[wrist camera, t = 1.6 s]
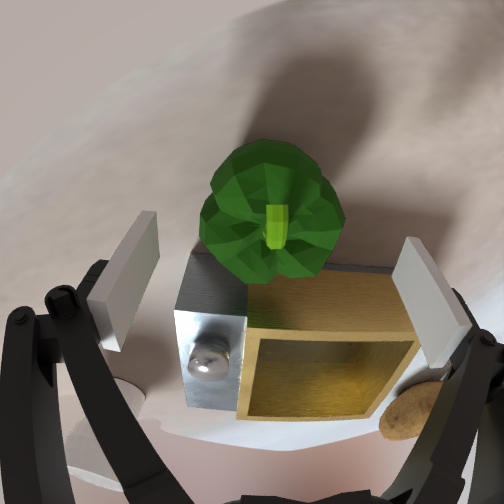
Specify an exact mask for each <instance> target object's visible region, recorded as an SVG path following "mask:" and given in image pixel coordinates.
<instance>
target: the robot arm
mask: <svg viewBox="0 0 504 504" xmlns="http://www.w3.org/2000/svg"><path fill="white" fill-rule="evenodd" d="M159 258H160V253H159V242H158V229H157V215H156V212H154V211H142V212H141V213H140V215H139V216H138V217H137V219H136V220H135V222H134V223H133V225H132V226H131V228H130V229H129V231H128V232H127V234H126V235H125V237H124V238H123V240H122V242H121V243H120V245H119V246H118V248H117V249H116V251H115V252H114V254H113V256H112V257H111V259H110V260H101V259H100V260H99V261H97V262H96V263H95V264H93V265H92V266H91V267H90V269H89V270H88V272H87V273H86V275H85V277H84V278H83V281H81V283H80V284H79V286H78V288H77V289H76V290H75V289H74V287H72V286H69V285H61V286H57V287H55V288H53V289H51V290H50V291H49V292H48V293H47V295H46V297H45V305H46V307H47V310H48V312H49V314H44V315H36V314H35V312H34V310H33V309H32V308H31V307H28V306H21V307H19V308H16V309H15V310H13V311H12V312H11V313H10V315H9V316H8V319H7V323H6V330H5V336H4V344H3V352H2V362H1V372H0V467H1V477H2V486H3V494H4V500H5V504H75V500H74V496H73V492H72V487H71V483H70V478H69V473H68V468H67V462H66V456H65V450H64V444H63V437H62V430H61V422H60V413H59V402H58V389H57V370H56V363H65V364H66V367H67V370H68V372H69V375H70V378H71V381H72V383H73V386H74V388H75V391H76V394H77V396H78V398H79V401H80V403H81V406H82V408H83V410H84V413H85V415H86V417H87V419H88V422H89V424H90V426H91V428H92V430H93V433H94V435H95V437H96V439H97V441H98V443H99V445H100V447H101V449H102V451H103V453H104V455H105V457H106V458H107V460H108V462H109V464H110V466H111V468H112V470H113V471H114V473H115V475H116V477H117V478H118V480H119V482H120V484H121V486H122V488H123V492H124V494H125V496H126V498H127V500H128V502H129V503H130V504H194V502H193V501H192V500H191V499H190V497H189V496H188V495H187V493H186V492H185V491H184V489H183V488H182V487H181V485H180V484H179V482H178V481H177V480H176V478H175V477H174V476H173V474H172V473H171V472H170V470H169V469H168V468H167V467H166V465H165V464H164V463H163V461H162V460H161V458H160V457H159V455H158V454H157V452H156V451H155V449H154V448H153V446H152V444H151V443H150V441H149V440H148V438H147V436H146V435H145V433H144V432H143V430H142V428H141V427H140V425H139V423H138V422H137V420H136V418H135V416H134V415H133V413H132V411H131V409H130V408H129V406H128V404H127V402H126V400H125V399H124V397H123V395H122V393H121V391H120V389H119V387H118V386H117V384H116V382H115V380H114V378H113V376H112V374H111V372H110V370H109V368H108V366H107V364H106V362H105V359H104V357H103V355H102V353H101V351H100V349H99V347H98V344H99V342H100V340H101V343H102V346H103V348H104V349H107V350H112V351H118V352H121V350H122V347H123V344H124V342H125V339H126V336H127V334H128V331H129V329H130V326H131V324H132V321H133V319H134V316H135V314H136V311H137V309H138V306H139V304H140V302H141V299H142V297H143V294H144V292H145V290H146V287H147V285H148V283H149V280H150V278H151V276H152V273H153V271H154V269H155V267H156V264H157V262H158V260H159ZM391 277H392V279H393V281H394V283H395V285H396V288H397V290H398V292H399V294H400V296H401V299H402V301H403V303H404V305H405V308H406V310H407V312H408V315H409V317H410V319H411V322H412V324H413V327H414V329H415V331H416V334H417V336H418V339H419V341H420V344H421V346H422V349H423V352H424V354H425V357H426V359H427V362H428V365H429V368H430V369H432V368H443V367H444V365H445V364H446V363H447V361H448V360H449V359H450V361H451V364H452V365H451V367H450V368H449V369H448V371H447V372H446V373H445V374H444V376H443V377H442V378H441V381H442V380H443V379H444V378H445V379H444V382H443V384H442V387H441V389H440V392H439V394H438V396H437V399H436V401H435V403H434V406H433V408H432V410H431V412H430V415H429V417H428V419H427V421H426V423H425V425H424V427H423V429H422V431H421V433H420V435H419V437H418V439H417V441H416V443H415V445H414V447H413V449H412V451H411V452H410V454H409V456H408V458H407V460H406V462H405V463H404V465H403V467H402V469H401V470H400V472H399V474H398V476H397V477H396V479H395V480H394V482H393V483H392V485H391V486H390V487H389V488H388V489H387V490H386V491H385V492H384V493H383V494H382V496H381V497H377V496H372V495H371V492H370V490H362V491H354V492H346V493H340V494H337V495H334V496H331V497H328V498H324V499H321V500H318V501H315V502H311V503H306V502H300V501H295V500H291V499H286V498H281V497H277V496H251V495H242V496H241V499H240V500H236V501H231V502H227V503H224V504H457V502H458V500H459V498H460V496H461V493H462V491H463V489H464V485H465V479H463V478H461V475H462V472H463V469H464V466H465V464H466V461H467V459H468V456H469V453H470V451H471V447H472V445H473V442H474V439H475V436H476V433H477V430H478V437H477V447H476V456H475V463H474V470H473V477H472V483H471V488H470V493H469V499H468V503H467V504H504V344H501V343H497V341H496V339H495V337H494V336H493V335H492V334H491V333H490V332H489V331H487V330H485V329H480V327H479V326H478V324H477V322H476V320H475V318H474V317H473V315H472V313H471V311H470V310H469V308H468V306H467V305H466V304H465V301H464V300H463V298H462V296H461V295H460V294H459V293H458V292H457V291H456V290H455V289H454V288H451V287H450V285H449V284H448V282H447V280H446V279H445V277H444V276H443V274H442V272H441V271H440V269H439V268H438V266H437V265H436V263H435V262H434V260H433V259H432V257H431V256H430V254H429V253H428V251H427V250H426V248H425V247H424V245H423V244H422V242H421V241H420V239H419V238H417V237H409V236H407V237H406V240H405V243H404V245H403V248H402V251H401V254H400V256H399V259H398V261H397V264H396V266H395V269H394V272H393V274H392V276H391Z"/></svg>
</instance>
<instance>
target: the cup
mask: <svg viewBox="0 0 504 504" xmlns="http://www.w3.org/2000/svg"><path fill="white" fill-rule="evenodd" d="M114 380H115V382H116V384H117V386H118V387H119V389H120V391H121V393H122V395H123V397H124V399H125V400H126V402H127V404H128V406H129V408H130V409H131V411H132V413H133V415H134V416H135V418H136V420H137V417H138V415H139V413H140V411H141V409H142V406H143V404H144V401H145V396H144V394H143V393H142V391H140V390H139V389H138V388H137V387H135V386H134V385H132V384H130V383H128V382H126V381H123V380H120V379H117V378H114ZM64 450H65V456H66V462H67V468H68V472H69V473H70V474H72V475H74V476H76V477H78V478H80V479H82V480H84V481H87V482H90V483H92V484H95V485H97V486H101V487H103V488H107V489H111V490H115V491H120V492H123V488H122V486H121V484H120V482H119V480H118V478H117V477H116V475H115V473H114V471H113V470H112V468H111V466H110V464H109V462H108V460H107V458H106V457H105V455H104V453H103V451H102V449H101V447H100V445H99V443H98V441H97V439H96V437H95V435H94V433H93V430H92V428H91V426H90V424H89V422H88V419H87V417H86V416H85V418H83V419H82V420H81V421H80V422H78V423H77V424H76V426H75V427H74V428H73V430H72V431H71V433H70V434H69V435H68V436H67V439H66V442H65V445H64Z"/></svg>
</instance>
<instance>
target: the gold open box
mask: <svg viewBox="0 0 504 504" xmlns="http://www.w3.org/2000/svg"><path fill="white" fill-rule="evenodd" d="M394 269H395V268H382V267H368V266H355V265H342V264H329V263H325V264H324V265H323V267H322V269H321V270H320V272H319V273H318V275H317V276H313V277H303V278H289V277H286V276H284V275H281V274H279V273H278V274H277V275H276V276H275V277H274V278H273V279H272V280H271V281H270V282H269V283H268V284H245V283H244V282H242V281H241V280H240V279H239V278H238V277H236V276H235V275H234V274H233V273H232V272H230V271H229V270H228V269H227V268H226V267H224V266H223V265H222V264H221V263H220V262H219V261H218V260H217V259H216V257H215V256H214V255H213V254H202V253H190V257H189V260H188V264H187V267H186V270H185V274H184V277H183V281H182V284H181V288H180V291H179V295H178V298H177V302H176V305H175V309H174V313H175V322H176V331H177V339H178V347H179V355H180V362H181V370H182V377H183V383H184V390H185V396H186V402H187V407H196V408H205V409H216V410H228V411H237V415H236V420H253V421H334V420H351V419H364V418H370V416H371V415H372V414H373V413H374V411H375V410H376V409H377V408H378V406H379V405H380V404H381V402H382V401H383V400H384V399H385V397H386V396H387V395H388V393H389V392H390V391H391V389H392V388H393V387H394V385H395V384H396V382H397V381H398V380H399V378H400V377H401V375H402V374H403V373H404V371H405V370H406V368H407V367H408V365H409V364H410V362H411V361H412V359H413V358H414V356H415V355H416V353H417V352H418V350H419V349H420V347H421V344H420V341H419V339H418V336H417V334H416V331H415V329H414V327H413V324H412V322H411V319H410V317H409V315H408V312H407V310H406V308H405V305H404V303H403V301H402V299H401V296H400V294H399V292H398V290H397V288H396V285H395V283H394V281H393V279H392V277H391V276H392V274H393V272H394Z"/></svg>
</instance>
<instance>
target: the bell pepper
mask: <svg viewBox="0 0 504 504" xmlns="http://www.w3.org/2000/svg"><path fill="white" fill-rule="evenodd" d="M210 185H211V188H212V191H213V192H212V194H211V195H210V196H209V197H208V198H207V199H206V200H205V203H204V205H203V208H202V210H201V213H200V228H199V236H200V238H201V240H202V242H203V243H204V245H205V246H206V247H207V248H208V250H209V251H210V252H211V253H212V254H213V255H214V256H215V257H216V259H217V260H218V261H219V262H220V263H221V264H222V265H223V266H224V267H226V268H227V269H228V270H229V271H230V272H232V273H233V274H234V275H235V276H236V277H238V278H239V279H240V280H241V281H242V282H244V283H245V284H268V283H269V282H270V281H271V280H272V279H273V278H274V277H275V276H276V275H277V274H278V273H279V274H281V275H284V276H286V277H289V278H303V277H313V276H317V275H318V273H319V272H320V270H321V269H322V267H323V265H324V264H325V262H326V261H327V259H328V257H329V256H330V254H331V252H332V251H333V249H334V246H335V244H336V242H337V240H338V238H339V235H340V233H341V231H342V228H343V225H344V222H345V219H346V218H345V216H344V213H343V210H342V208H341V205H340V202H339V200H338V197H337V195H336V192H335V191H334V189H333V187H332V185H331V184H330V182H329V181H328V180H327V179H326V178H324V177H323V176H322V175H321V170H320V168H319V167H318V165H317V163H316V162H315V161H314V160H313V159H312V158H310V157H309V156H308V155H306V154H305V153H304V152H303V151H301V150H300V149H299V148H297V147H296V146H294V145H292V144H290V143H284V142H278V141H272V140H266V139H261V140H258V141H255V142H252V143H250V144H247V145H244V146H241V147H239V148H237V149H235V150H234V151H233V152H232V153H231V154H230V155H229V156H228V158H227V159H226V160H225V161H224V162H223V163H222V165H221V166H220V167H219V168H218V169H217V170H216V172H215V173H214V176H213V178H212V180H211V183H210Z"/></svg>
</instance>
